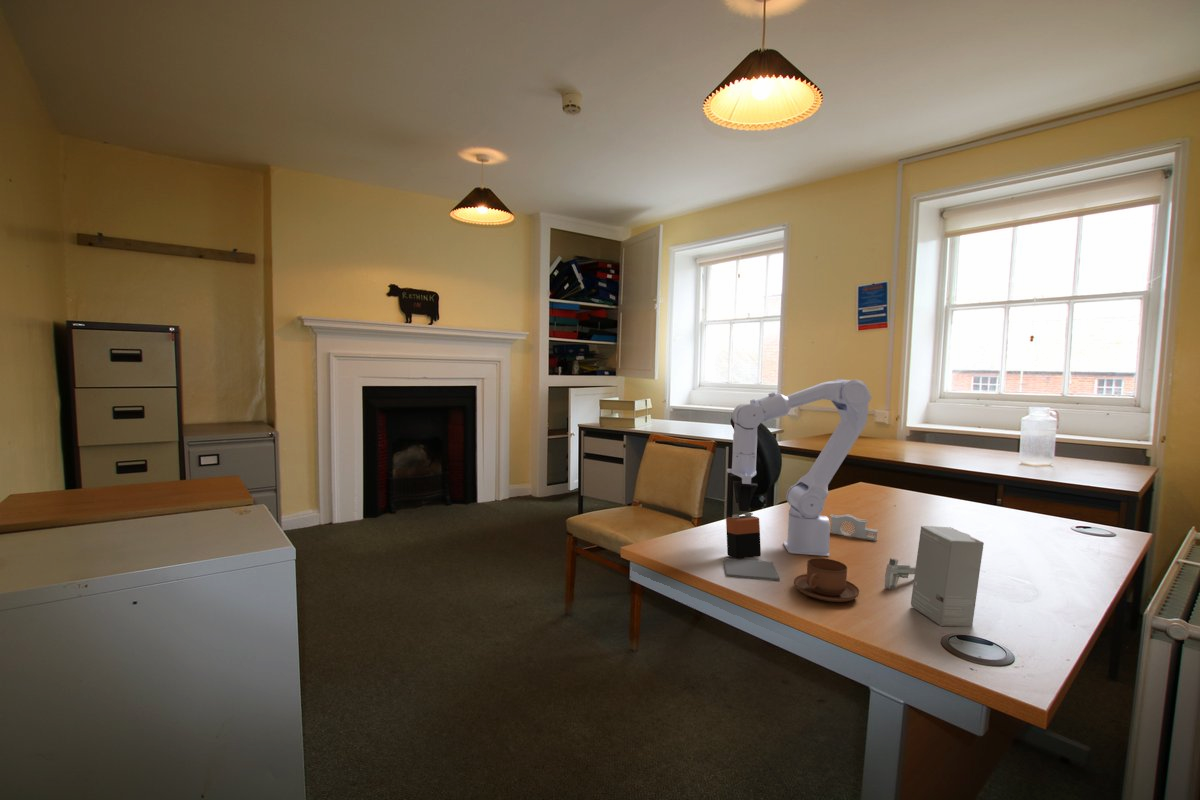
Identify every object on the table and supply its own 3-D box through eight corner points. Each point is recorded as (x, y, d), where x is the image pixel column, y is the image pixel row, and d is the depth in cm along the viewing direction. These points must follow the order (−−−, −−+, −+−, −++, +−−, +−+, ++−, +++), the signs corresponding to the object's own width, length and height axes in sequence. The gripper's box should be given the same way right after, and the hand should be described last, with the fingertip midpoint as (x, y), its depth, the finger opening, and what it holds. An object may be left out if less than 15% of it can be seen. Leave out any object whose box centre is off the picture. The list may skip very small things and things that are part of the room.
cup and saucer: (854, 613, 100) (856, 581, 99) (787, 597, 106) (788, 566, 106) (862, 591, 110) (863, 562, 109) (800, 578, 116) (801, 550, 116)
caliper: (889, 591, 110) (891, 561, 110) (884, 589, 111) (885, 559, 111) (941, 573, 121) (943, 545, 121) (936, 571, 122) (938, 544, 122)
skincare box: (909, 606, 103) (914, 524, 102) (945, 606, 103) (950, 524, 102) (941, 628, 94) (946, 539, 93) (979, 627, 95) (985, 538, 94)
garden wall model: (878, 540, 144) (879, 518, 143) (877, 542, 142) (878, 520, 142) (830, 531, 150) (831, 511, 150) (828, 533, 149) (829, 512, 149)
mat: (772, 564, 124) (772, 561, 124) (779, 580, 114) (780, 578, 114) (723, 560, 125) (723, 558, 125) (726, 576, 116) (726, 574, 116)
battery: (761, 556, 127) (760, 513, 127) (737, 559, 124) (735, 515, 125) (750, 553, 131) (748, 511, 132) (726, 555, 128) (724, 513, 129)
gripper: (725, 447, 141) (723, 498, 142) (730, 456, 127) (727, 513, 127) (753, 449, 140) (751, 500, 141) (761, 458, 125) (758, 515, 126)
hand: (742, 506), depth 134 cm, fingers open, 7 cm apart
